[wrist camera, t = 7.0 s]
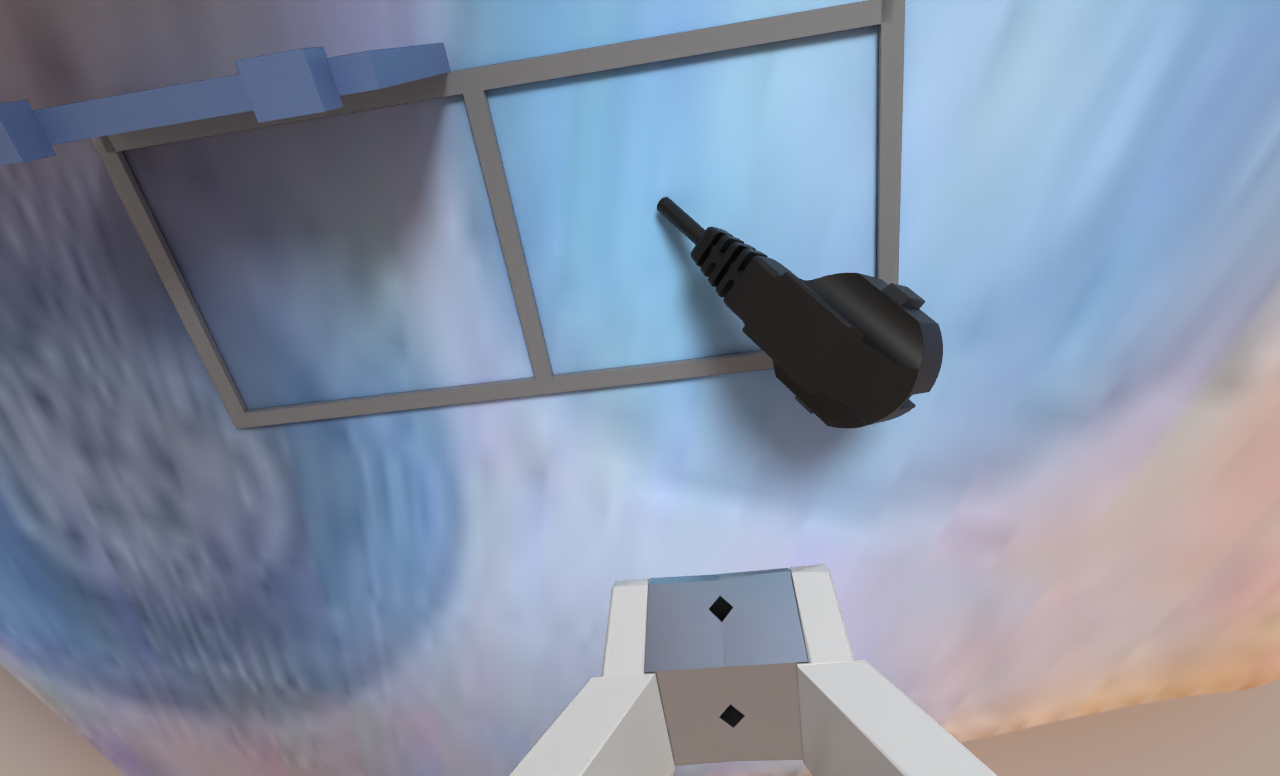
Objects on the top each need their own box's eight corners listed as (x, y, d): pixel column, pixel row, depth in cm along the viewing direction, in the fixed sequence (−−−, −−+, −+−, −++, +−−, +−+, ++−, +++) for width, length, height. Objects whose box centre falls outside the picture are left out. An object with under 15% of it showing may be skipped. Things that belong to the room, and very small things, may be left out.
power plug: (690, 136, 26) (942, 339, 21) (779, 177, 32) (992, 342, 27) (615, 259, 28) (825, 468, 23) (711, 275, 34) (894, 444, 29)
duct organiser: (76, 98, 27) (-141, 128, 20) (903, -49, 23) (1003, -78, 16) (239, 425, 34) (122, 534, 27) (894, 351, 31) (961, 455, 23)
